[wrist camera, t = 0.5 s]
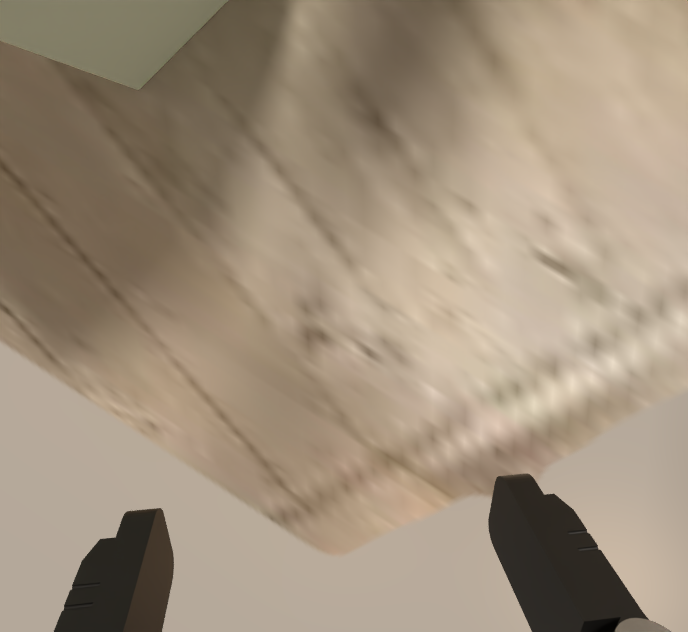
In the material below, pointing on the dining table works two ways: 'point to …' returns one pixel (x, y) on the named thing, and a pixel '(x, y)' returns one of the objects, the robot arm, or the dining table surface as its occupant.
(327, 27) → the dining table surface
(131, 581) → the robot arm
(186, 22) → the tote
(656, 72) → the dining table surface
